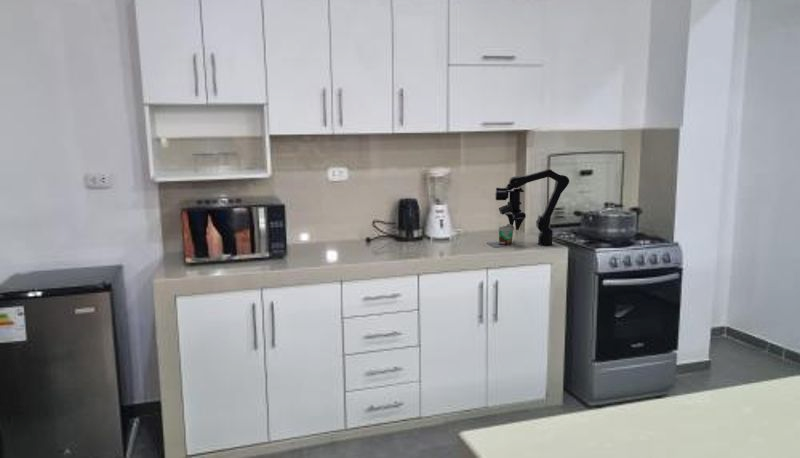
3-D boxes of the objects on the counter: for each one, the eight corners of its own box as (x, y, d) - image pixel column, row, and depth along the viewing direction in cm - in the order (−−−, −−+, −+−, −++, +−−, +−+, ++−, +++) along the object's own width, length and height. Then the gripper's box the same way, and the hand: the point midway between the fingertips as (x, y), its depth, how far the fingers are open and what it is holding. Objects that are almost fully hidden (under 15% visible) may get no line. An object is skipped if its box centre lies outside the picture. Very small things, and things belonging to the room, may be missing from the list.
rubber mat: (498, 242, 328) (498, 242, 328) (505, 247, 316) (505, 246, 316) (487, 243, 327) (487, 242, 327) (494, 247, 315) (494, 246, 315)
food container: (508, 246, 316) (509, 228, 314) (498, 245, 319) (498, 226, 317) (517, 242, 326) (518, 225, 324) (506, 241, 329) (507, 223, 328)
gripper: (495, 198, 327) (494, 225, 330) (505, 203, 309) (505, 232, 312) (514, 197, 328) (513, 225, 331) (526, 202, 310) (525, 231, 313)
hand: (514, 228), depth 322 cm, fingers open, 9 cm apart
